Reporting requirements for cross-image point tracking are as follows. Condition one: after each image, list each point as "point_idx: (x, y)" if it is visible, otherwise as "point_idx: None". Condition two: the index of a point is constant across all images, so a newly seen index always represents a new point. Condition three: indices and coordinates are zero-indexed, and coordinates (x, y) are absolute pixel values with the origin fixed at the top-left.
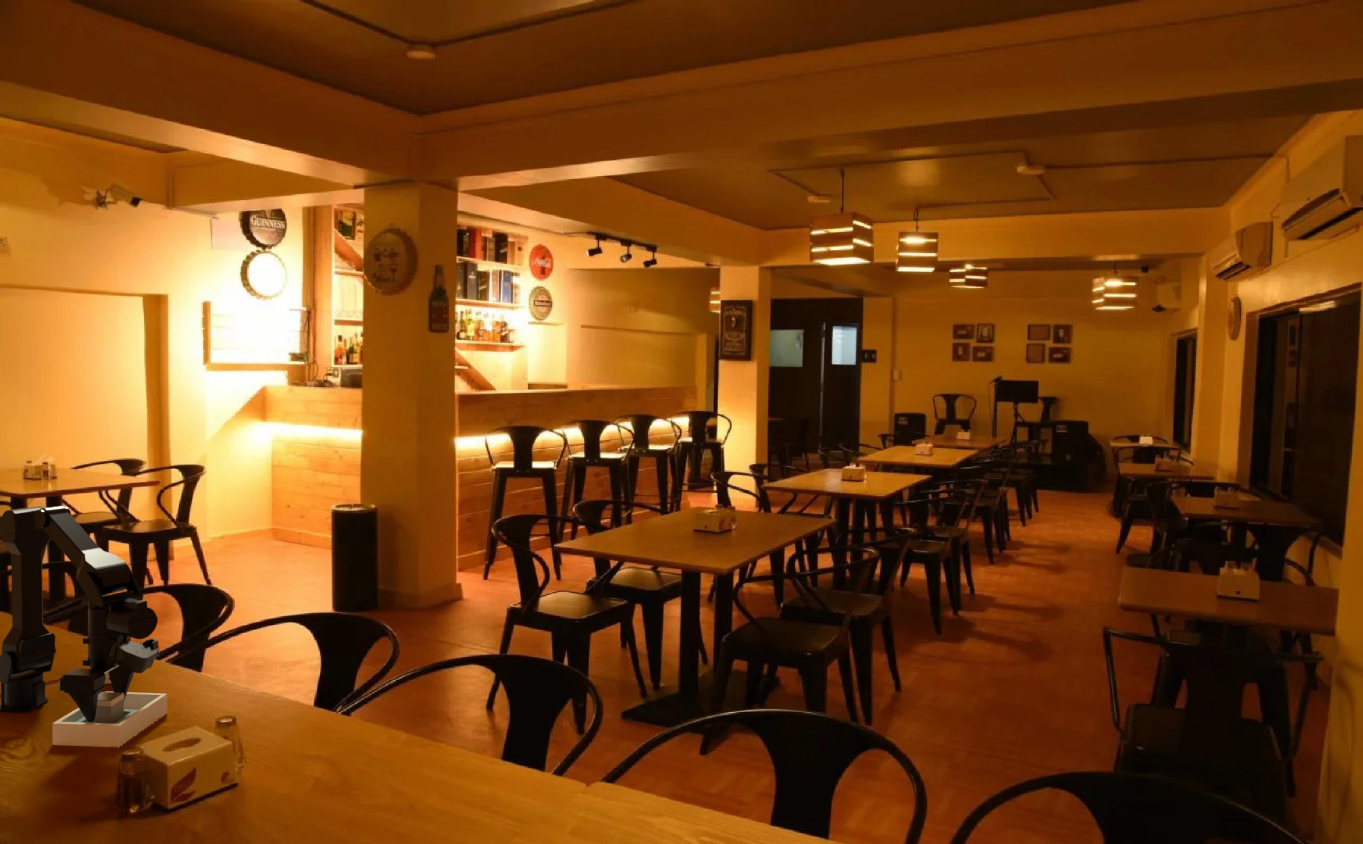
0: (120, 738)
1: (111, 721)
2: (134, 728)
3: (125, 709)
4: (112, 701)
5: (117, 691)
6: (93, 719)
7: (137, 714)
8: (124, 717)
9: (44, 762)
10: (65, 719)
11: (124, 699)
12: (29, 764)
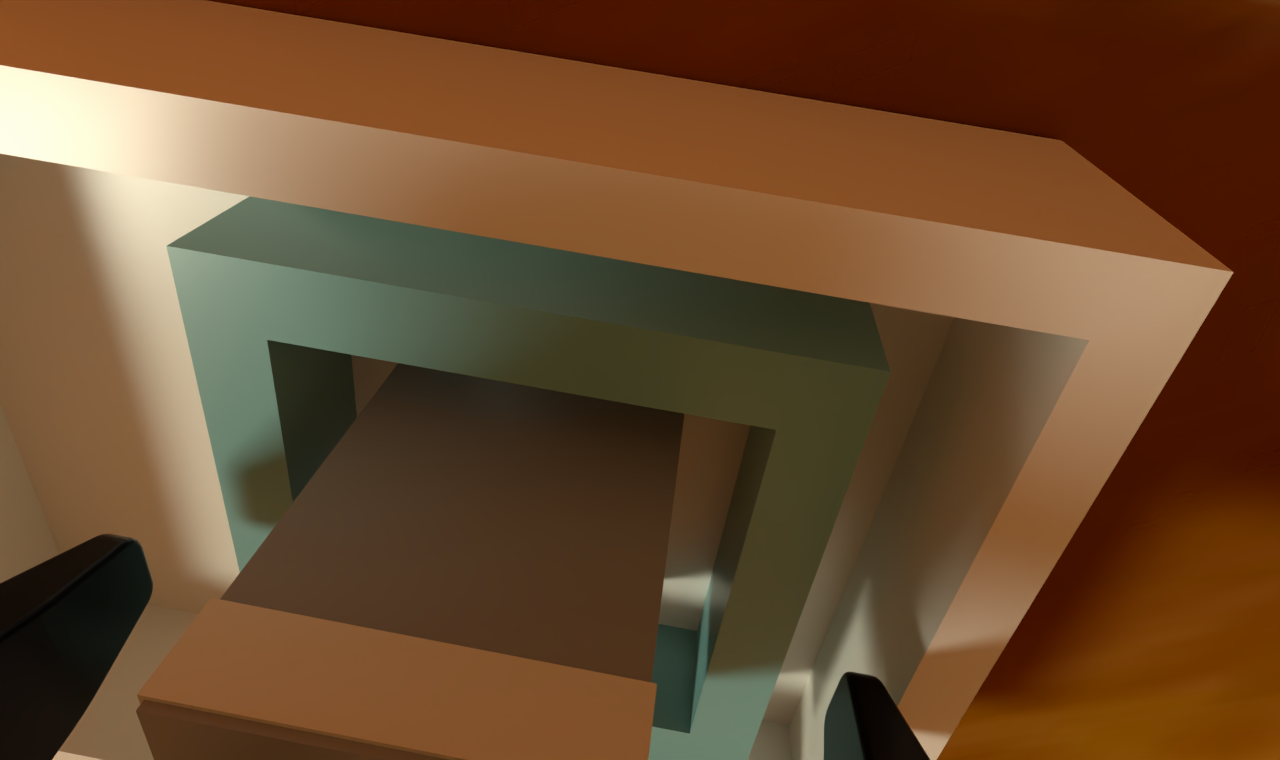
0: (1096, 176)
1: (663, 474)
2: (689, 108)
3: (216, 440)
4: (590, 757)
5: (12, 747)
6: (889, 704)
7: (558, 153)
8: (507, 361)
9: (1223, 680)
10: None
11: (71, 555)
12: (1219, 748)
